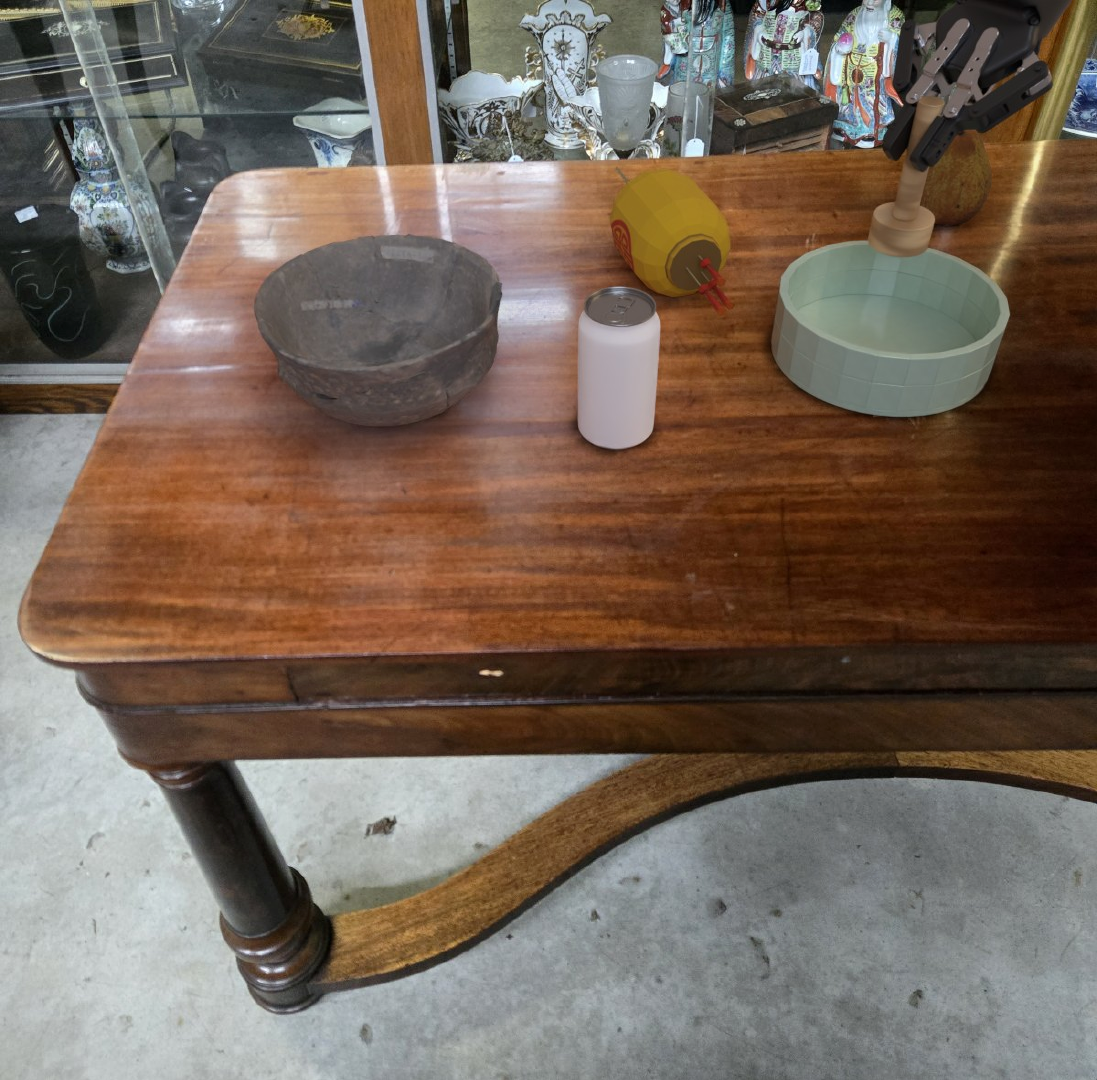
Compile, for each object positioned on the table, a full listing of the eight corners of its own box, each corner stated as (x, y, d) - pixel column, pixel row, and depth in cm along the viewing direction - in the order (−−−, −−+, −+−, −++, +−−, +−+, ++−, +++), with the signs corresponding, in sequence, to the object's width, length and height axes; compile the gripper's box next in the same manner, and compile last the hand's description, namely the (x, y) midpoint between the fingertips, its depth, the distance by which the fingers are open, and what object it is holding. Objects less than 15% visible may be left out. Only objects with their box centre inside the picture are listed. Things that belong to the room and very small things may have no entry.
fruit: (942, 190, 119) (971, 82, 110) (997, 224, 113) (1031, 113, 104) (880, 205, 116) (904, 96, 108) (933, 241, 110) (962, 129, 102)
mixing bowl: (1008, 325, 99) (1027, 268, 94) (964, 441, 86) (985, 382, 82) (807, 278, 105) (817, 223, 101) (741, 380, 93) (749, 322, 89)
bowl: (226, 406, 91) (198, 307, 84) (388, 304, 103) (375, 210, 96) (398, 500, 82) (382, 397, 75) (555, 376, 94) (553, 278, 87)
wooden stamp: (934, 236, 89) (971, 94, 81) (920, 262, 86) (957, 118, 78) (876, 223, 91) (907, 83, 82) (860, 249, 88) (891, 106, 79)
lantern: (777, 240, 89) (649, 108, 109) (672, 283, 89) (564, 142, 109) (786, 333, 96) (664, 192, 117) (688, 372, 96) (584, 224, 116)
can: (566, 441, 87) (565, 318, 79) (592, 398, 91) (595, 277, 83) (639, 459, 85) (646, 335, 77) (663, 414, 90) (672, 292, 81)
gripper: (951, -94, 80) (818, 109, 83) (1119, -55, 72) (964, 167, 75) (974, -32, 86) (849, 155, 89) (1131, 10, 78) (988, 213, 81)
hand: (903, 159), depth 82 cm, fingers closed on wooden stamp
